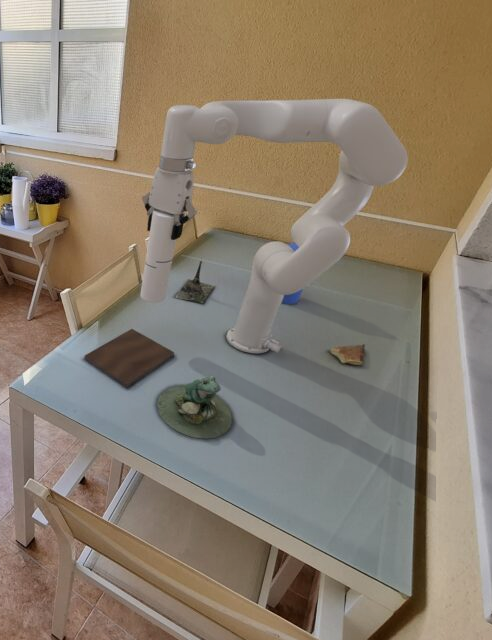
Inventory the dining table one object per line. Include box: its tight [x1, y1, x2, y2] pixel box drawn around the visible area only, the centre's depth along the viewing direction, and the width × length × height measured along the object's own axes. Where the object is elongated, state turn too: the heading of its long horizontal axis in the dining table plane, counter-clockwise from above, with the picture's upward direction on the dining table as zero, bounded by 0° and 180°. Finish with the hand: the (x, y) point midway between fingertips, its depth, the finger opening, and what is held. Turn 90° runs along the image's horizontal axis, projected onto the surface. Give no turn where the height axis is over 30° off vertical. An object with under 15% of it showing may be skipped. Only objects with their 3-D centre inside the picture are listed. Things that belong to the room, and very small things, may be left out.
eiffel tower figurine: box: [174, 258, 215, 304], centre depth 149 cm, size 15×10×13 cm
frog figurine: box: [157, 375, 233, 440], centre depth 101 cm, size 18×18×12 cm
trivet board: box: [84, 328, 175, 389], centre depth 122 cm, size 16×21×2 cm
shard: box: [330, 344, 366, 366], centre depth 121 cm, size 11×8×2 cm
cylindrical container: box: [139, 209, 180, 303], centre depth 115 cm, size 7×7×25 cm
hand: (163, 233), depth 111 cm, fingers closed on cylindrical container, 7 cm apart
